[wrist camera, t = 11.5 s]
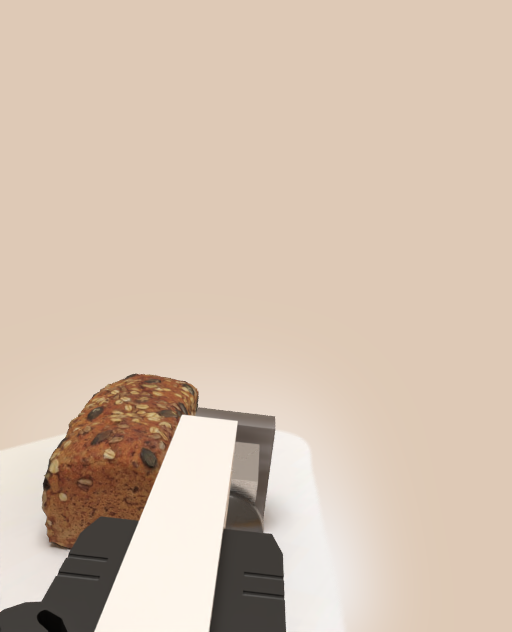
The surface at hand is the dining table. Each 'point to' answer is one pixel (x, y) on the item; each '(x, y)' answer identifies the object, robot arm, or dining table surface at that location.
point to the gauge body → (253, 432)
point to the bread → (113, 453)
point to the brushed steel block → (244, 490)
